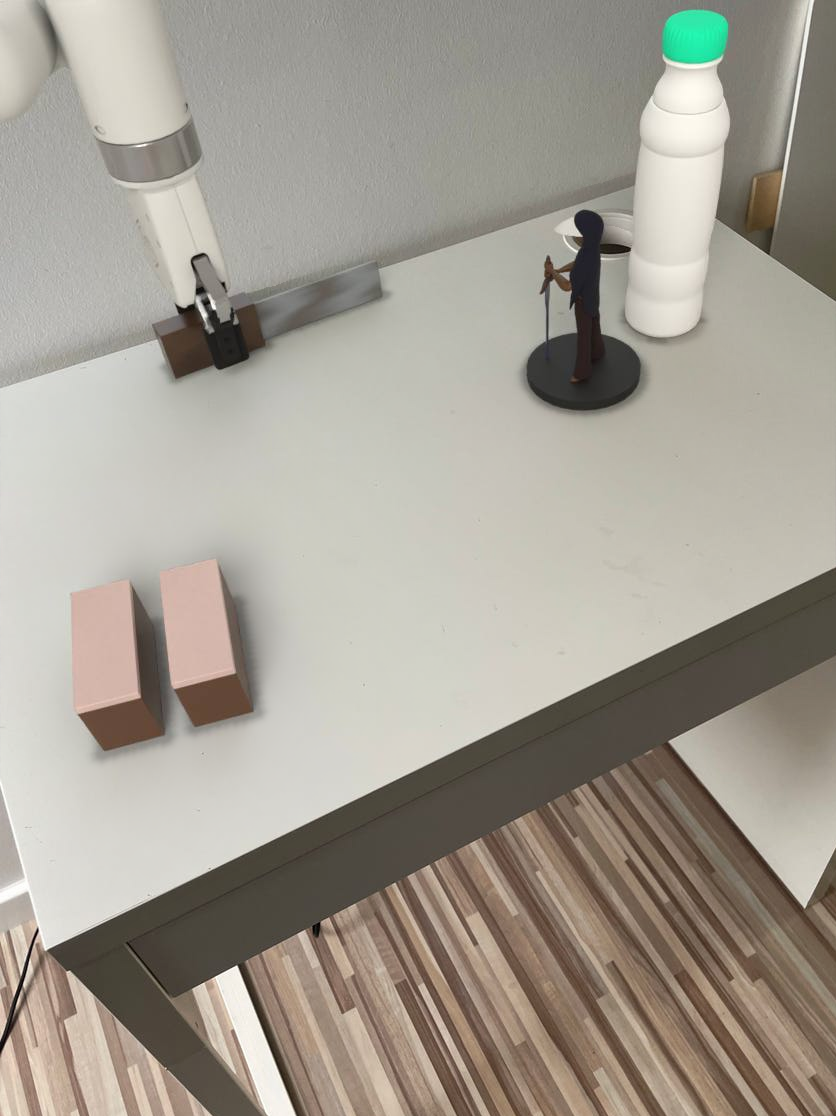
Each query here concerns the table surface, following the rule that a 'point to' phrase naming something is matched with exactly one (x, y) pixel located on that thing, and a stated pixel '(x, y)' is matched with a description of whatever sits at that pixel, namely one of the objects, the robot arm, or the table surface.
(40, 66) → the robot arm
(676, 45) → the water bottle
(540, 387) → the figurine
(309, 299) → the knife
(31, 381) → the table surface
